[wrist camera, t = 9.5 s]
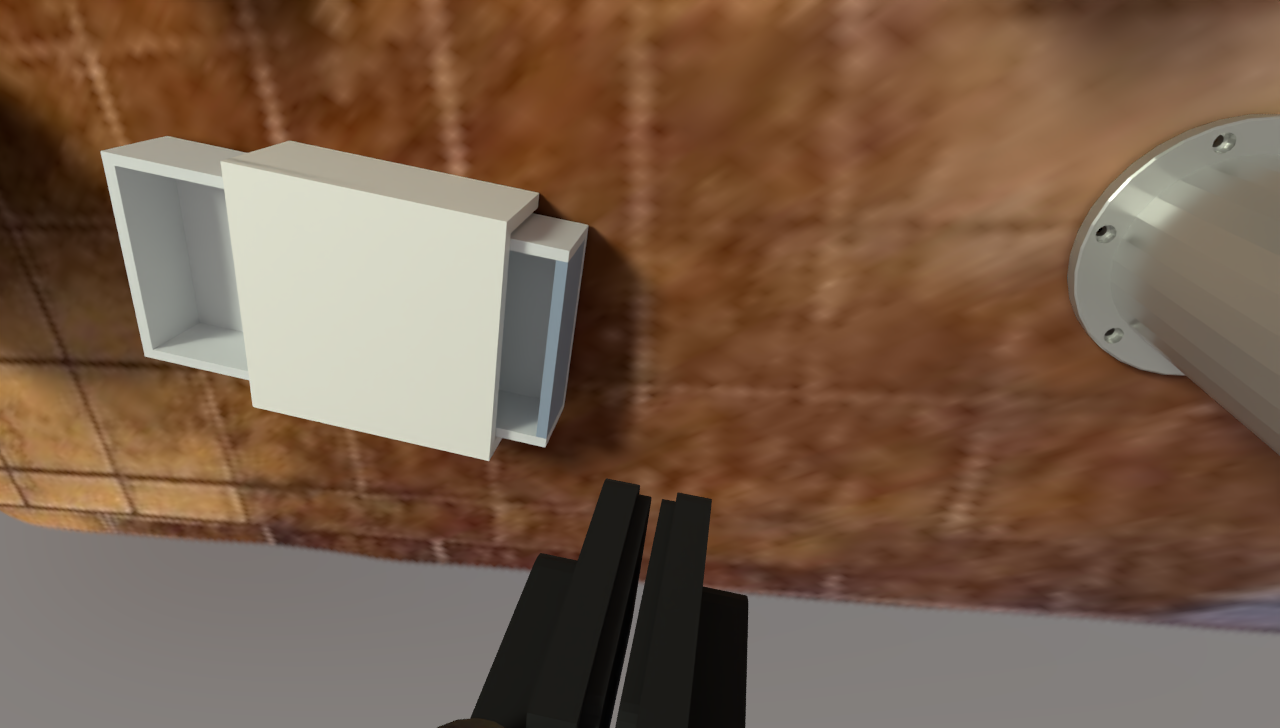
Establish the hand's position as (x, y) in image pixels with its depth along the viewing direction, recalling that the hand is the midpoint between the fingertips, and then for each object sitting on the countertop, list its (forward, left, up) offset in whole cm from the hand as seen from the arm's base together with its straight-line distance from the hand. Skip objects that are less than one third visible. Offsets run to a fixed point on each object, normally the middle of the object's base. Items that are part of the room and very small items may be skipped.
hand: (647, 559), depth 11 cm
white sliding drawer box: (+18, +10, -27) cm, 34 cm away
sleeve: (+16, +10, -27) cm, 33 cm away
